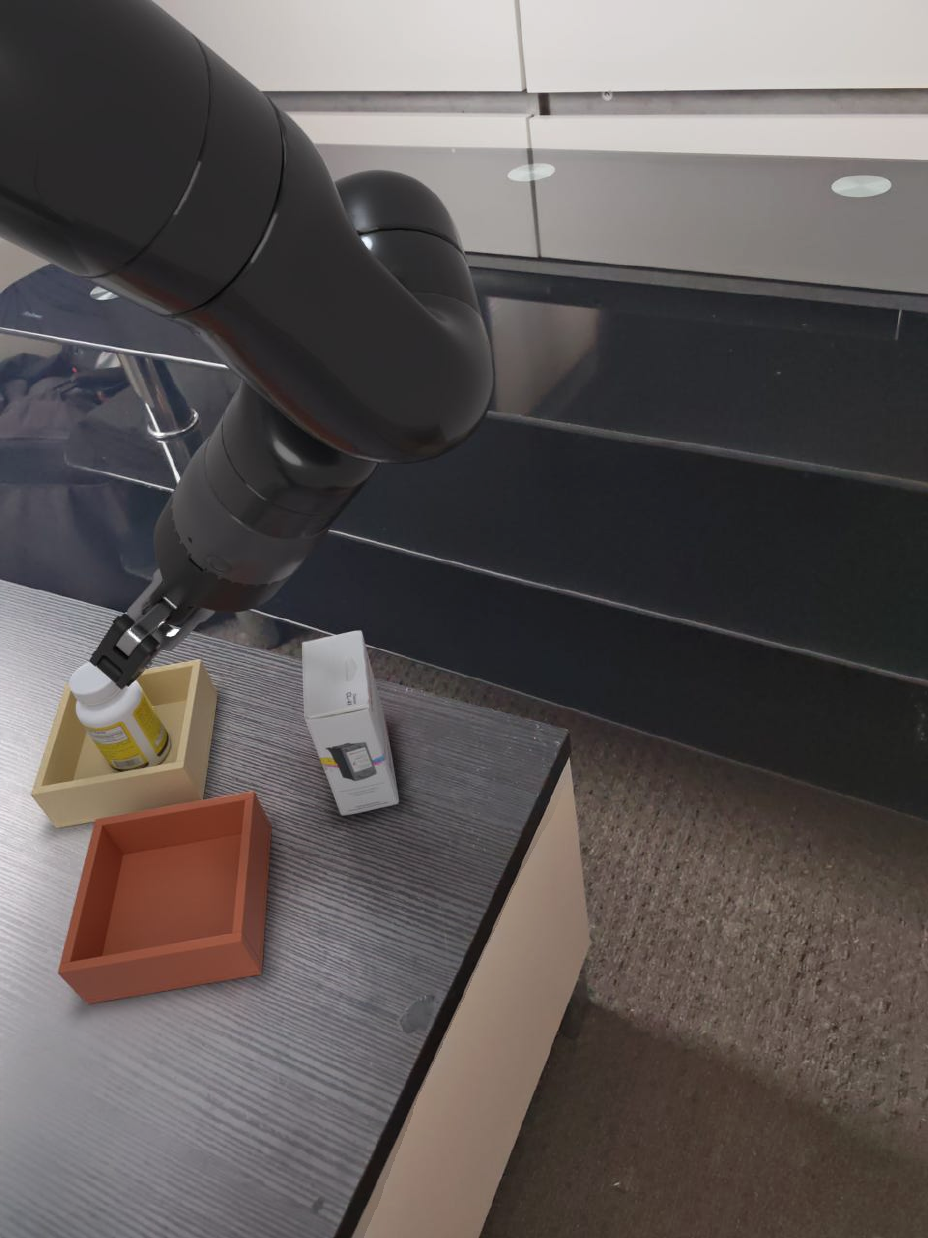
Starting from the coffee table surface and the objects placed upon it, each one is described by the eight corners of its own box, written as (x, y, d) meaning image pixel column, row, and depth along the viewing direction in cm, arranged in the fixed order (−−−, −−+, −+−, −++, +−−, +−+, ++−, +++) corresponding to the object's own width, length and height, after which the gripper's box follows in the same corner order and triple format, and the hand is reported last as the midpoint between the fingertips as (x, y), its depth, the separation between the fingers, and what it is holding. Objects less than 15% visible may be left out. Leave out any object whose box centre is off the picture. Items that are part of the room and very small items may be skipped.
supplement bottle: (152, 719, 82) (107, 641, 76) (183, 749, 79) (139, 670, 73) (99, 757, 80) (48, 680, 73) (129, 788, 77) (78, 711, 70)
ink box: (334, 738, 78) (296, 638, 70) (392, 725, 78) (361, 624, 70) (340, 821, 72) (299, 721, 64) (403, 806, 72) (370, 705, 64)
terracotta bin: (261, 974, 63) (240, 941, 60) (87, 1004, 63) (57, 973, 60) (272, 825, 72) (254, 790, 69) (119, 853, 73) (94, 819, 70)
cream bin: (202, 802, 75) (183, 767, 72) (56, 828, 76) (30, 795, 72) (218, 693, 84) (201, 658, 81) (87, 717, 85) (65, 683, 82)
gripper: (276, 396, 51) (196, 523, 64) (91, 546, 43) (40, 659, 55) (374, 490, 52) (276, 597, 65) (212, 655, 44) (136, 741, 56)
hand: (168, 625), depth 60 cm, fingers open, 8 cm apart
